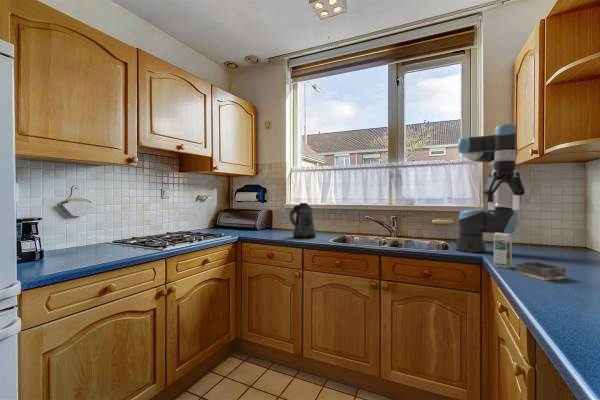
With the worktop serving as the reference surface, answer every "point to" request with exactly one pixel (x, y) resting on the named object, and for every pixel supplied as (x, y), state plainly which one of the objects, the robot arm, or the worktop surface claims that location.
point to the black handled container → (303, 222)
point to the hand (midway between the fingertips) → (504, 210)
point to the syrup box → (503, 250)
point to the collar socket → (540, 270)
